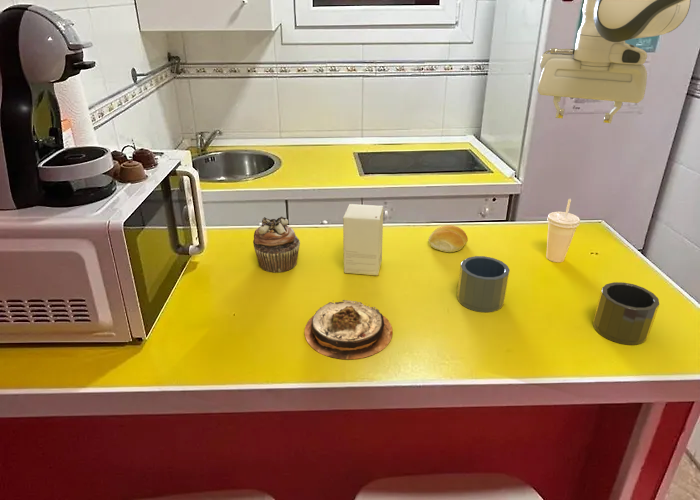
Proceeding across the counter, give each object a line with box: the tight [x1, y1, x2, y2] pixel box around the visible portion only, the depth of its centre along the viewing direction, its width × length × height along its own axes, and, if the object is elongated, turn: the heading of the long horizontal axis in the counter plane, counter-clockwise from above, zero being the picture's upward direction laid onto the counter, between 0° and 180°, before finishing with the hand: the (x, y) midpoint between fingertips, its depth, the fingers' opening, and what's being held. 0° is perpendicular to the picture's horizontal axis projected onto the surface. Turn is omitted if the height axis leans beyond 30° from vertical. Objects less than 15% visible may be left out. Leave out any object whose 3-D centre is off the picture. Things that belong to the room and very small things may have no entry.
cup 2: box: [592, 281, 660, 346], centre depth 88 cm, size 9×9×7 cm
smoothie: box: [545, 198, 581, 263], centre depth 109 cm, size 6×6×14 cm
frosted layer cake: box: [304, 299, 393, 360], centre depth 88 cm, size 15×15×4 cm
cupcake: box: [252, 216, 301, 274], centre depth 108 cm, size 10×10×10 cm
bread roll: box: [428, 224, 469, 253], centre depth 117 cm, size 8×9×4 cm
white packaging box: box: [342, 203, 384, 276], centre depth 106 cm, size 7×7×13 cm
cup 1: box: [456, 255, 511, 313], centre depth 96 cm, size 9×9×7 cm
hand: (582, 120), depth 110 cm, fingers open, 8 cm apart
